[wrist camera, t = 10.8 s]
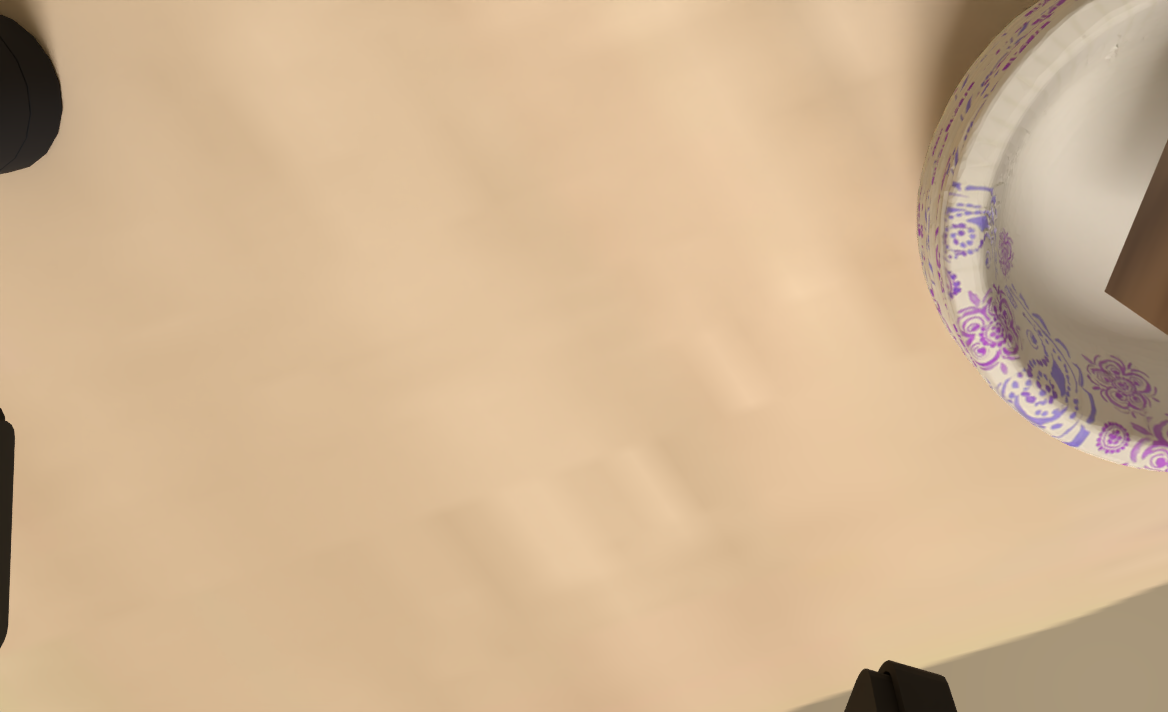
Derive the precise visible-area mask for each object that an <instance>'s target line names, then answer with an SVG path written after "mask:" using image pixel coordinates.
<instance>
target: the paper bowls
mask: <svg viewBox="0 0 1168 712" xmlns="http://www.w3.org/2000/svg"><path fill="white" fill-rule="evenodd" d="M1167 140H1168V0H1040V1H1038V2H1037V3H1036V4H1034V5H1033V6H1031V7H1030V8H1028V9H1027V10H1025V11H1024V12H1022V13H1021V14H1020V15H1018V16H1017V17H1016V18H1015V19H1013V20H1012V21H1011V22H1010V23H1009V24H1008V25H1007V26H1006V27H1005V28H1004V29H1003V30H1002V31H1001V32H1000V33H999V34H998V35H997V36H996V37H995V38H994V39H993V40H992V41H991V42H990V44H989V45H988V46H987V47H986V48H985V50H984V51H983V52H982V53H981V54H980V56H979V57H978V58H977V59H976V60H975V62H974V63H973V64H972V65H971V67H970V68H969V69H968V71H967V72H966V74H965V75H964V77H963V78H962V80H961V81H960V83H959V84H958V86H957V88H956V89H955V91H954V93H953V94H952V96H951V98H950V99H949V102H948V104H947V106H946V108H945V110H944V113H943V115H942V117H941V119H940V121H939V123H938V125H937V127H936V130H935V132H934V134H933V137H932V140H931V143H930V146H929V149H928V152H927V155H926V158H925V162H924V165H923V169H922V174H921V180H920V187H919V191H918V203H917V238H918V246H919V254H920V259H921V263H922V269H923V273H924V276H925V280H926V283H927V286H928V289H929V291H930V294H931V296H932V298H933V301H934V303H935V305H936V308H937V310H938V313H939V315H940V317H941V319H942V321H943V323H944V325H945V327H946V329H947V330H948V332H949V333H950V335H951V336H952V338H953V339H954V340H955V342H956V343H957V345H958V346H959V347H960V348H961V350H962V351H963V353H964V354H965V356H966V357H967V359H968V360H969V361H970V362H971V363H972V364H973V366H974V367H975V368H976V369H977V370H978V371H979V373H980V375H981V376H982V378H983V379H984V380H985V381H986V383H987V384H988V385H989V386H990V387H991V388H992V389H993V391H994V392H995V393H996V394H997V395H998V396H999V397H1000V398H1001V399H1002V400H1003V401H1005V402H1006V403H1007V404H1008V405H1009V406H1010V407H1011V408H1013V409H1014V410H1015V411H1016V412H1017V413H1019V414H1020V415H1021V416H1022V417H1023V418H1025V419H1026V420H1027V421H1029V422H1030V423H1032V424H1033V425H1034V426H1036V427H1037V428H1039V429H1040V430H1042V431H1043V432H1045V433H1046V434H1048V435H1050V436H1052V437H1053V438H1055V439H1057V440H1059V441H1061V442H1063V443H1065V444H1067V445H1069V446H1071V447H1073V448H1076V449H1077V450H1080V451H1082V452H1085V453H1087V454H1090V455H1092V456H1095V457H1098V458H1100V459H1103V460H1107V461H1110V462H1113V463H1116V464H1120V465H1126V466H1129V467H1134V468H1139V469H1147V470H1150V471H1162V472H1168V335H1167V334H1165V333H1164V332H1162V331H1161V330H1159V329H1158V328H1156V327H1155V326H1153V325H1152V324H1151V323H1149V322H1148V321H1146V320H1145V319H1143V318H1142V317H1140V316H1139V315H1138V314H1136V313H1135V312H1133V311H1132V310H1130V309H1129V308H1127V307H1126V306H1125V305H1123V304H1122V303H1120V302H1119V301H1117V300H1116V299H1114V298H1113V297H1111V296H1110V295H1109V294H1107V293H1106V292H1104V291H1105V289H1106V286H1107V284H1108V282H1109V279H1110V277H1111V274H1112V272H1113V270H1114V267H1115V265H1116V262H1117V260H1118V258H1119V255H1120V253H1121V250H1122V248H1123V246H1124V243H1125V241H1126V238H1127V236H1128V234H1129V231H1130V229H1131V226H1132V224H1133V222H1134V219H1135V217H1136V214H1137V212H1138V210H1139V207H1140V205H1141V202H1142V200H1143V198H1144V195H1145V193H1146V190H1147V188H1148V186H1149V183H1150V181H1151V178H1152V176H1153V174H1154V171H1155V169H1156V166H1157V164H1158V162H1159V159H1160V157H1161V154H1162V152H1163V150H1164V147H1165V145H1166V142H1167Z"/></svg>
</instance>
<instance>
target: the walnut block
mask: <svg viewBox="0 0 1168 712" xmlns="http://www.w3.org/2000/svg"><path fill="white" fill-rule="evenodd" d="M1104 292H1106V293H1107V294H1109V295H1110V296H1111V297H1113V298H1114V299H1116V300H1117V301H1119V302H1120V303H1122V304H1123V305H1125V306H1126V307H1127V308H1129V309H1130V310H1132V311H1133V312H1135V313H1136V314H1138V315H1139V316H1140V317H1142V318H1143V319H1145V320H1146V321H1148V322H1149V323H1151V324H1152V325H1153V326H1155V327H1156V328H1158V329H1159V330H1161V331H1162V332H1164V333H1165V334H1167V335H1168V140H1167V142H1166V145H1165V147H1164V150H1163V152H1162V154H1161V157H1160V159H1159V162H1158V164H1157V166H1156V169H1155V171H1154V174H1153V176H1152V178H1151V181H1150V183H1149V186H1148V188H1147V190H1146V193H1145V195H1144V198H1143V200H1142V202H1141V205H1140V207H1139V210H1138V212H1137V214H1136V217H1135V219H1134V222H1133V224H1132V226H1131V229H1130V231H1129V234H1128V236H1127V238H1126V241H1125V243H1124V246H1123V248H1122V250H1121V253H1120V255H1119V258H1118V260H1117V262H1116V265H1115V267H1114V270H1113V272H1112V274H1111V277H1110V279H1109V282H1108V284H1107V286H1106V289H1105V291H1104Z"/></svg>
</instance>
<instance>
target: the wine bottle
mask: <svg viewBox="0 0 1168 712" xmlns="http://www.w3.org/2000/svg"><path fill="white" fill-rule="evenodd" d="M61 114H62V104H61V94H60V85H59V82H58V80H57V77H56V74H55V72H54V69H53V67H52V64H51V61H50V59H49V58H48V56H47V55H46V54H45V52H44V51H43V49H42V48H41V47H40V45H39V44H38V42H37V41H36V40H35V38H34V37H33V36H32V35H31V34H29V33H28V32H27V31H26V30H25V29H23V28H22V27H21V26H20V25H18V24H17V23H16V22H15V21H14V20H12V19H10V18H7V17H5V16H3V15H0V174H3V173H9V172H12V171H16V170H19V169H23V168H26V167H30V166H31V165H32V164H34V163H35V162H36V161H37V160H39V159H40V158H41V157H42V156H44V155H45V154H46V153H47V152H48V150H49V148H50V146H51V145H52V143H53V141H54V139H55V138H56V136H57V134H58V130H59V125H60V119H61Z"/></svg>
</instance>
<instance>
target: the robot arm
mask: <svg viewBox="0 0 1168 712" xmlns="http://www.w3.org/2000/svg"><path fill="white" fill-rule="evenodd" d="M14 447H15V434H14V429H13V427H12V425H11V424H10V423H9V422H7V421H5V416H4V414H3V412H2V409H1V408H0V648H1V646H2V644H3V642H4V640H5V637H6V634H7V629H8V614H9V586H10V559H11V531H12V503H13V475H14ZM844 712H957V710H956V707H955V704H954V701H953V698H952V695H951V692H950V688H949V685H948V683H947V681H946V679H945V677H943V676H941V675H938V674H935V673H931V672H928V671H924V670H921V669H918V668H914V667H911V666H907V665H904V664H900V663H897V662H893V661H890V660H888V661H886V662H884V663H883V665H882V666H881V667H880V669H879V671H878V672H876V671H873V670H869V669H863V670H862V671H861V673H860V674H859V676H858V678H857V680H856V683H855V685H854V688H853V691H852V693H851V696H850V698H849V701H848V703H847V706H846V709H845V711H844Z"/></svg>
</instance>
